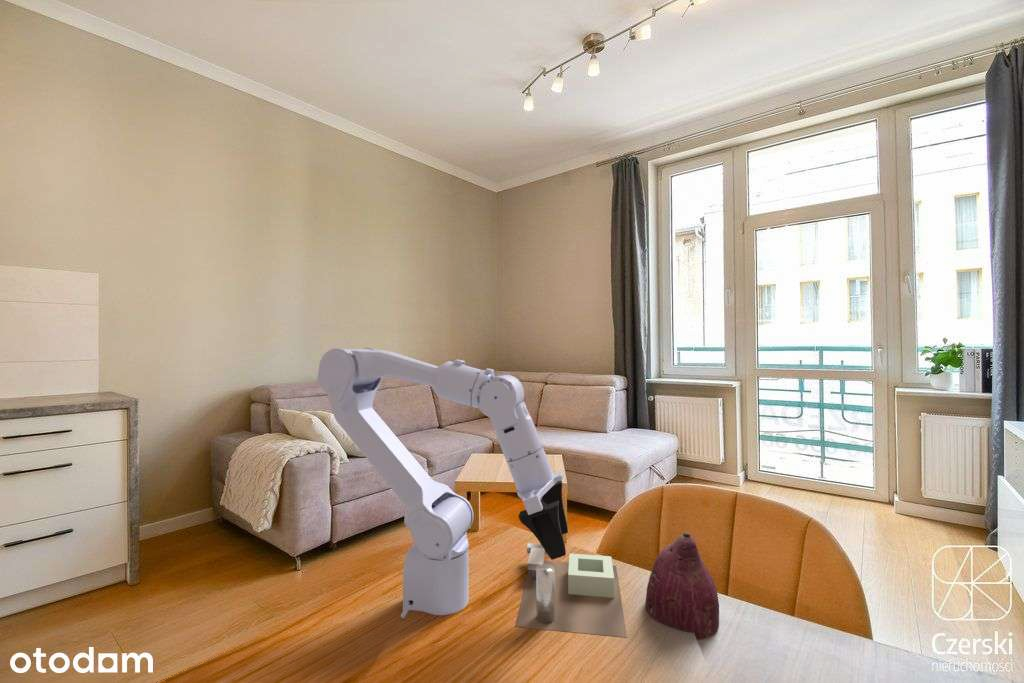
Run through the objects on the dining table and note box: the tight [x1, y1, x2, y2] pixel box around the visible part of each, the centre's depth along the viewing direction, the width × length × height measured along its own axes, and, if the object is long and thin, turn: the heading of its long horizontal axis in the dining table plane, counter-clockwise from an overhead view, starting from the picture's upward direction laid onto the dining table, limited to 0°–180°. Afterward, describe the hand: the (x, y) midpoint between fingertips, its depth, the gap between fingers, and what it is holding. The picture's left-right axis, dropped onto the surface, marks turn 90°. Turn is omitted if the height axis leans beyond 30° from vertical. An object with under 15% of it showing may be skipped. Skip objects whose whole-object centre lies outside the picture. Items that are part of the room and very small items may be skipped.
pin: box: [536, 564, 555, 624], centre depth 62 cm, size 3×3×7 cm
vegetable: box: [645, 531, 720, 641], centre depth 63 cm, size 10×10×15 cm
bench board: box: [514, 542, 628, 639], centre depth 69 cm, size 16×19×4 cm
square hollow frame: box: [568, 553, 614, 598], centre depth 71 cm, size 7×7×3 cm
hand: (560, 544), depth 62 cm, fingers open, 7 cm apart
